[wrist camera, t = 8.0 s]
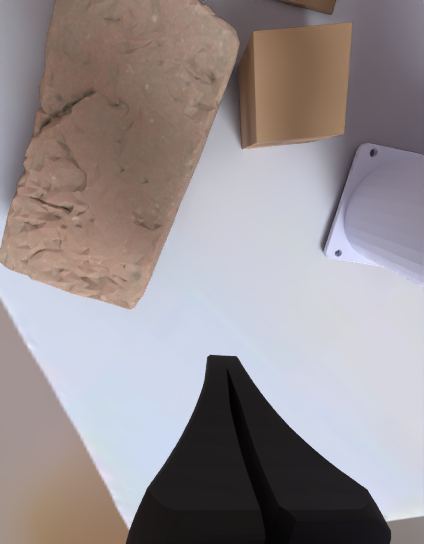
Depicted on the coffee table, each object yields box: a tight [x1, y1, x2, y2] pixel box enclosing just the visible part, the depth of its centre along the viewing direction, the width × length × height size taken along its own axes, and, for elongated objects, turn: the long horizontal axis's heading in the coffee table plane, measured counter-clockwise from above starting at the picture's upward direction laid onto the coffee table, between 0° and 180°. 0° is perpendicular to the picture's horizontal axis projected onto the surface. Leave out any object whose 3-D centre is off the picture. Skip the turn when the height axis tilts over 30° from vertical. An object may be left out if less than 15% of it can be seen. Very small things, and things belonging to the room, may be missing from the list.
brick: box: [0, 0, 240, 309], centre depth 16 cm, size 17×8×5 cm, turn 155°
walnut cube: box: [238, 22, 353, 149], centre depth 15 cm, size 4×4×4 cm
